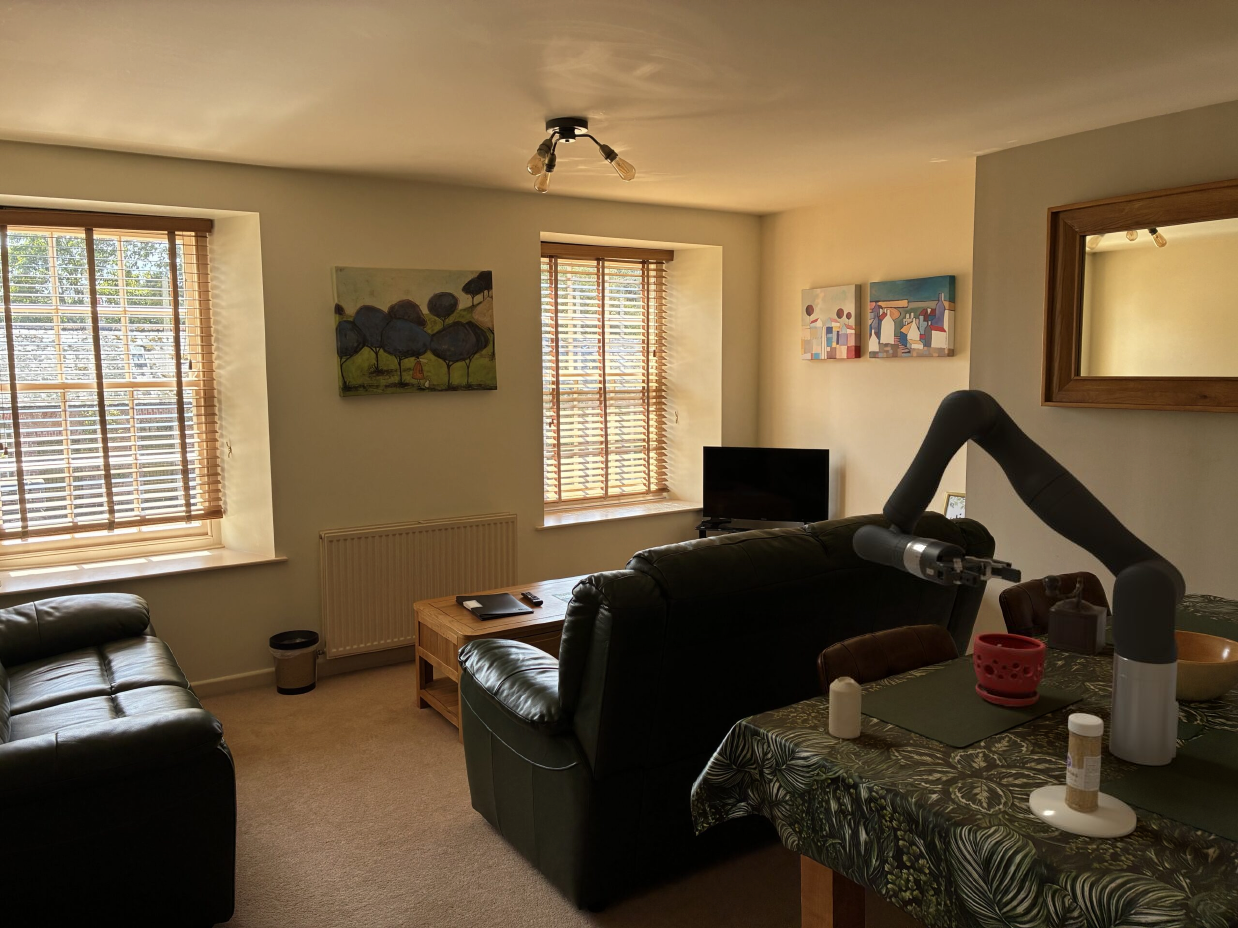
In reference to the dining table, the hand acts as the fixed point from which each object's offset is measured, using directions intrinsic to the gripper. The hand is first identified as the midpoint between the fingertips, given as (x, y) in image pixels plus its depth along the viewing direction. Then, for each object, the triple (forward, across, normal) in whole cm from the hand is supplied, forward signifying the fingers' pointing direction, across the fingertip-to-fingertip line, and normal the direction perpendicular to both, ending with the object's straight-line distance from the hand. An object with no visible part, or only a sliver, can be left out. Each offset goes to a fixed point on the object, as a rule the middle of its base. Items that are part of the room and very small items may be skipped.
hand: (999, 579), depth 153 cm
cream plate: (+22, -4, +30) cm, 37 cm away
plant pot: (-19, +21, +30) cm, 41 cm away
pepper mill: (-39, +59, +30) cm, 77 cm away
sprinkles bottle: (+22, -4, +29) cm, 37 cm away
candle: (-16, -19, +30) cm, 39 cm away
